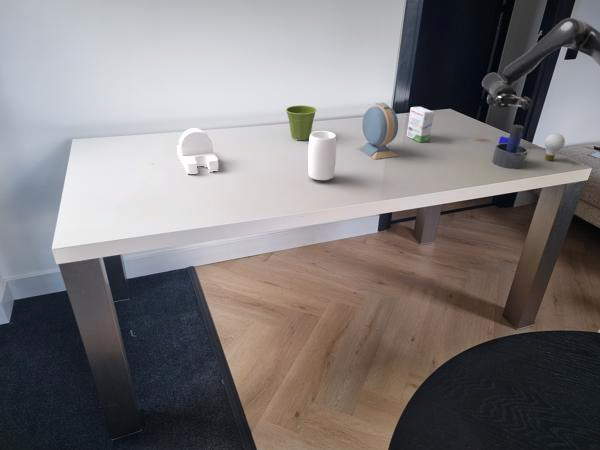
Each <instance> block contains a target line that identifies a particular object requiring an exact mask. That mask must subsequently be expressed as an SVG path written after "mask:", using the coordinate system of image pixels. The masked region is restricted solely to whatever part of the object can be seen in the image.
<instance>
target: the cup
mask: <svg viewBox="0 0 600 450" xmlns="http://www.w3.org/2000/svg"><path fill="white" fill-rule="evenodd" d="M307 160H308V161H307V169H308V172H307V173H308V177H309V178H311V179H312V180H315V181H316V180H317V181H329V180H331V179H333V178H334V177H335V171H336V161H337V135H336V134H335V133H334V132H332V131H329V130H316V131H311V134H310V138H309V139H308V150H307Z"/></svg>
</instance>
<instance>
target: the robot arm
mask: <svg viewBox="0 0 600 450" xmlns="http://www.w3.org/2000/svg"><path fill="white" fill-rule="evenodd" d="M561 48H566V49H571V50H575V51H577V52H580V53H582V54H584V55H586V56H589V57H590V58H592V59H593V60H594V62H595V63H597V64H598V65H599V66H600V31H599V30H598V29H596V28H595V27H593V26H592V25H591V24H589V23H588V22H587V21H585V20H582V19H578V18H575V17H567V18H564V19H562V20H561V21H559V23H557V24H556V25H555V26H554V27H553V28H552V29H551V30H549V31H548V32H547V34H546V35H544V36H543V37H542V38H541V39H540V40H539V41H537V43H536V44H534V45H533V46H532V47H531V48H530V49H529V50H527V51H526V52H524V53H523V54H522V55H521V56H519V57H518V58H516V59H515V60H514V61H512V62H511V63H510V64H508V65H507V66H505V68H504V69H503V71H502V72H503V76H504V78H505V80H506V81H505V80H504V79H503V77H502V76H500V75H499V73H497V72H490V73H488V74H486V75H485V76H484V77H483V79H482V81H481V86H482V88H483V89H485V91H487V93H488V94H487V98H486V103H487V104H488V105H489V106H491V105H493V106H495V107H497V108H498V109H501V108H502V109H503V108H505V109H506V108H510V107H515V108H521V109H523V111H526V110H528V109H530V108H531V105H532V102H533V100H532V99H531V98H530V97H528V96H527V95H525V96H523V97H522V96H519V95H518V94H517V91H516V90H515V89H514V87H513V86H514V84H516V83H517V82H518V81H519V80H521V79H522V78H524V77H526V76H527V75H528V74H530V73H531V72H532V71H534V70H535V68H536V67H538V65H539V64H540V63H541V62H542V60H543V59H545V58H546V57H547V56H548V55H550V54H551V53H553V52H554V51H556V50H558V49H561Z"/></svg>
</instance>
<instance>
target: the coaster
mask: <svg viewBox="0 0 600 450" xmlns="http://www.w3.org/2000/svg"><path fill="white" fill-rule="evenodd" d="M471 140H472V141H473V142H480V143H487V144H494V141H493V140H490V139H488V138H482V137H477V138H476V137H475V138H472V139H471Z"/></svg>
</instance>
